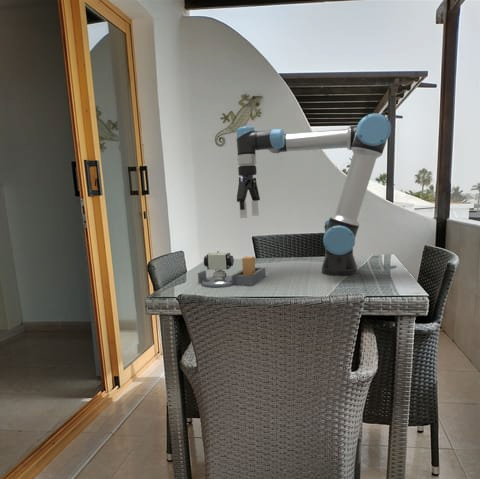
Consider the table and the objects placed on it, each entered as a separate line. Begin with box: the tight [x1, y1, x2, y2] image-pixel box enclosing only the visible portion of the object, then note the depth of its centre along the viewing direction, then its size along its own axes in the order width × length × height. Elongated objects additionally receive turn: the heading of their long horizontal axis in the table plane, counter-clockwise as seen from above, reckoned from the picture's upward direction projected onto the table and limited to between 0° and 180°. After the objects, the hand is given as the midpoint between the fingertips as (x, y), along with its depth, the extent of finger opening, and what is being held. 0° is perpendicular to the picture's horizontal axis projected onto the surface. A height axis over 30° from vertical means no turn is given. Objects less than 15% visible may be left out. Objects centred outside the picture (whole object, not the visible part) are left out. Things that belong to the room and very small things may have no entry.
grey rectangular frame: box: [231, 266, 267, 287], centre depth 149 cm, size 9×17×4 cm, turn 157°
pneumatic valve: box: [203, 250, 235, 280], centre depth 148 cm, size 6×12×12 cm, turn 76°
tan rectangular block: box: [241, 256, 256, 275], centre depth 149 cm, size 4×4×10 cm
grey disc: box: [197, 270, 241, 289], centre depth 148 cm, size 18×15×4 cm
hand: (249, 216), depth 150 cm, fingers open, 13 cm apart
